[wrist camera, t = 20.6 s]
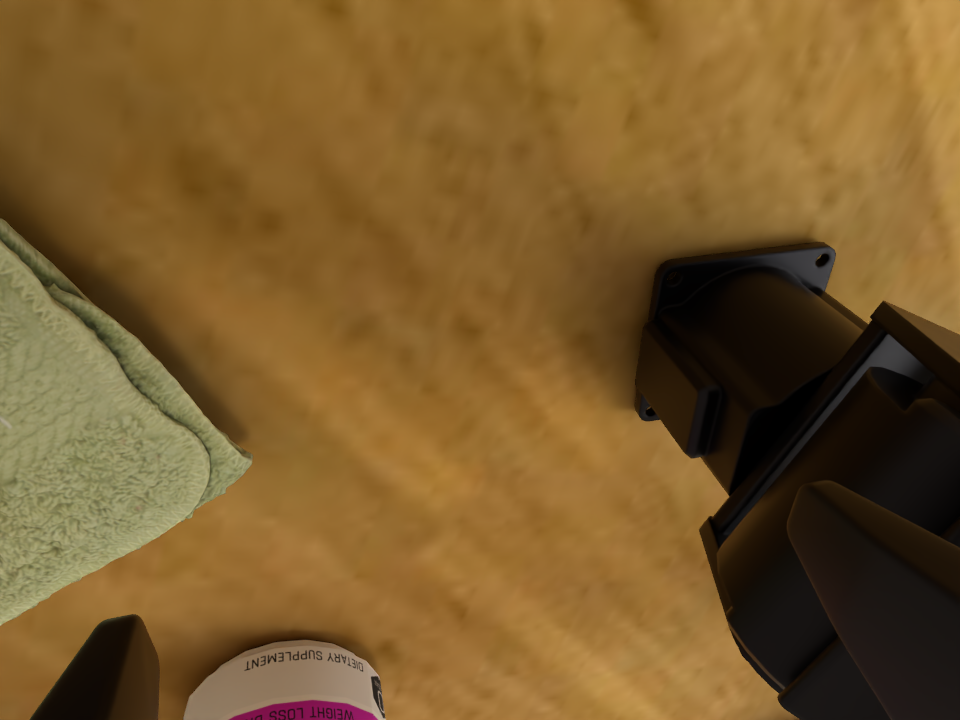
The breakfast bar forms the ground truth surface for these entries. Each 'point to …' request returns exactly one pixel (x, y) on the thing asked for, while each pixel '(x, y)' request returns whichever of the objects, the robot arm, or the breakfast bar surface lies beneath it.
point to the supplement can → (290, 686)
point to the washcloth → (87, 436)
